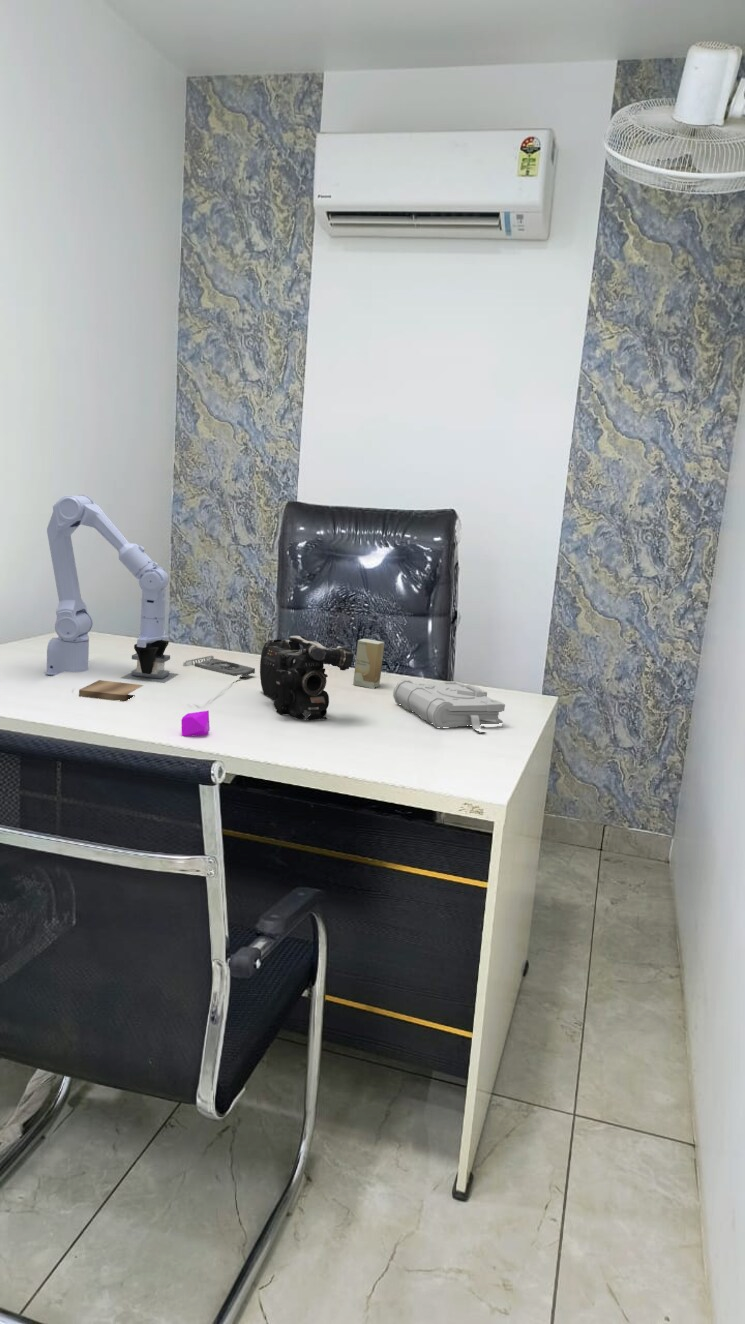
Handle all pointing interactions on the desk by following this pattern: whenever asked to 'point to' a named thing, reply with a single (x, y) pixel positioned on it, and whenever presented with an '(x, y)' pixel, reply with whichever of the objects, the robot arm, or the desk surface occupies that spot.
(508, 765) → the desk surface
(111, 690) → the stand
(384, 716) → the desk surface
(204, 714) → the crystal
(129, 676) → the stand
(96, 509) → the robot arm
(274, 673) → the movie camera
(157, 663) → the block
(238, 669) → the graphics card
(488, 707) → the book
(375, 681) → the skincare box
